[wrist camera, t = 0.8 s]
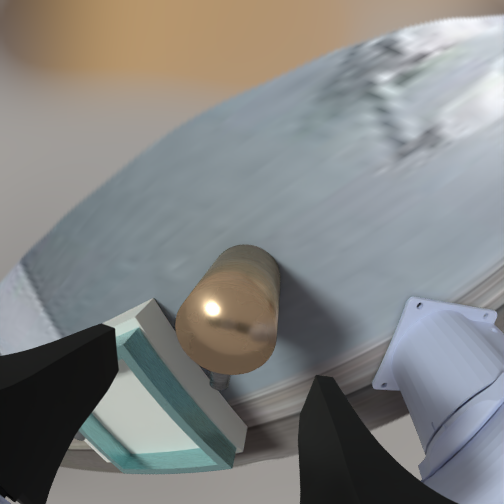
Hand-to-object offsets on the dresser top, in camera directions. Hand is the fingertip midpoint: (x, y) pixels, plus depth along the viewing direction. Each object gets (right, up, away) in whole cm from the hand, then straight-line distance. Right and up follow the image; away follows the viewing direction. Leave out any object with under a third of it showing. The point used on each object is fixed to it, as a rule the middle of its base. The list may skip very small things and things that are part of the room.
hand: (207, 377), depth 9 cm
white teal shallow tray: (-10, -9, +14) cm, 19 cm away
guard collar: (-8, -9, +10) cm, 16 cm away
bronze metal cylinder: (+1, +3, +9) cm, 10 cm away
